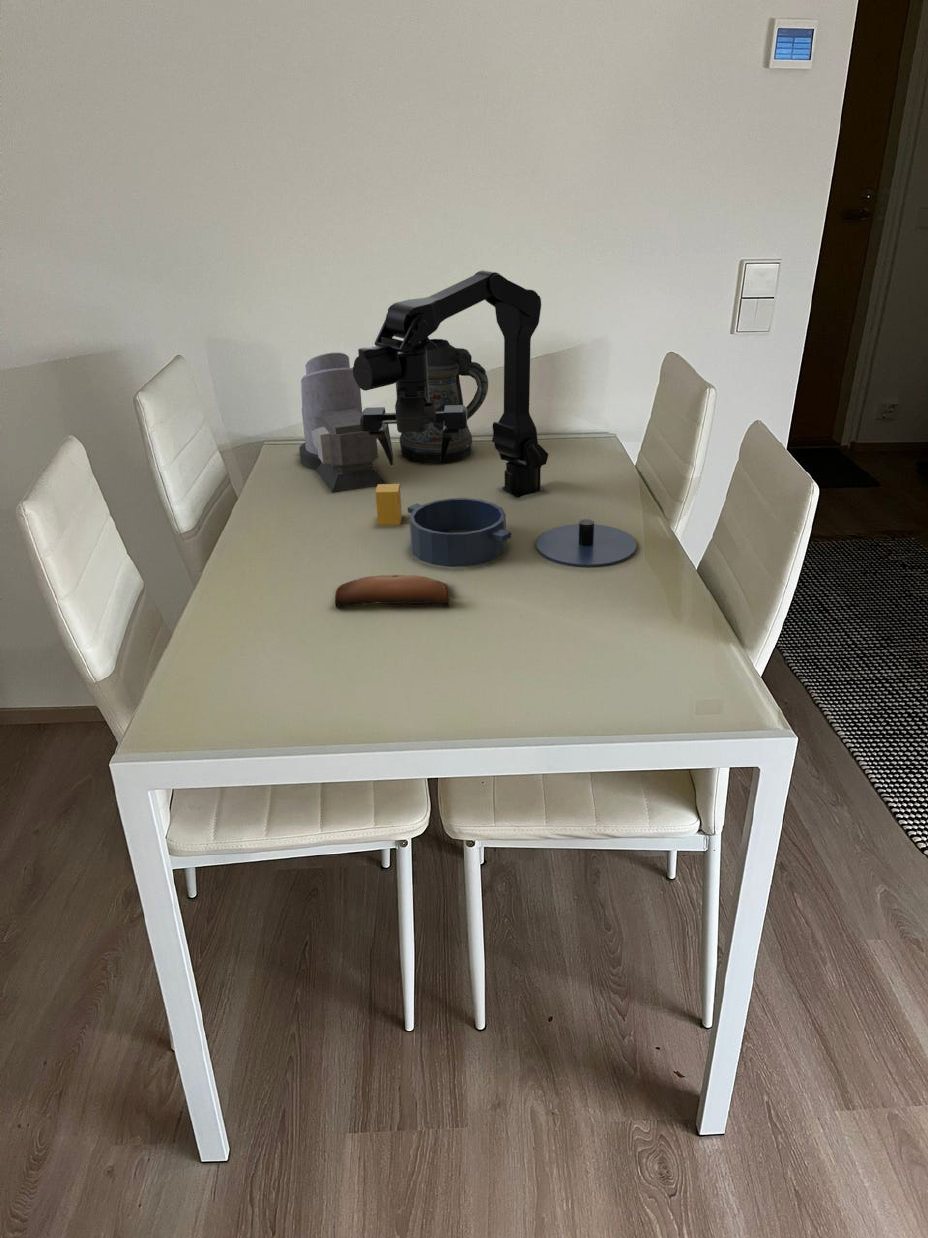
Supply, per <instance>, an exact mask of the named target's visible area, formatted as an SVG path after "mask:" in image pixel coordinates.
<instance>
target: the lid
mask: <svg viewBox="0 0 928 1238" xmlns="http://www.w3.org/2000/svg"><path fill="white" fill-rule="evenodd" d="M535 541H536V542H535V548H536V549H535V550H537V552H538V554H540V555H541V556H542V557H543V558H545V559H547V560H549V561H551V562H554V563H556V564H561V565H564V566H569V567H570V566H571V567H579V568H599V567H600V568H601V567H607V566H613V565H616V564H619V563H622V562H625V561H627V560H628V559H630V558H632V556H634V555H635V553H636V551H637V548H638V545H637V541H636V539H635V538H634V537H633V536H632V535H631V534H629V533H628V532H626V531H624V530H622V529H619V528H616V527H612V526H608V525H603V524H596V523H595V521H594V520H593V519H587V518H586V519H581V520H579V521H578V523H574V524H566V525H560V526H557V527H552V528H551V529H548V530H545V531H544V532H543V533H541V534H540V535H538V537H537V538H536V540H535Z"/></svg>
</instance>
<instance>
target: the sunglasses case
mask: <svg viewBox="0 0 928 1238" xmlns="http://www.w3.org/2000/svg"><path fill="white" fill-rule="evenodd" d="M448 585H449V584H448V583H445V582H443V581H440V580H438V579H434V578H431V577H427V576H422V575H417V574H400V575H399V574H387V575H386V574H385V575H370V576H365V577H359V578H356V579H353V580H350V581H347V582H345V583H342V584H341V585H339V586H338V587H337V588H336V590H335V594H334V595H335V596H334V605H335V608H337V607H346V606H347V607H348V606H361V605H370V604H371V605H372V604H401V603H409V604H419V603H420V604H421V603H441V604H442V603H443V604H444V603H445V604H447V605H450V602H451V601H450V598H449V588H448Z"/></svg>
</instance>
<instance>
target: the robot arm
mask: <svg viewBox="0 0 928 1238" xmlns="http://www.w3.org/2000/svg"><path fill="white" fill-rule="evenodd" d="M483 301H485V302H487V303H488V304H489V305H491V306H492V307H494V311H495V318H496V323H497V325H498V326H499V330H500V331H501V334H502V336H503V413H502V415H501V416H500V418H499V420H498V421H494V422H493V423H492V439H491V442H492V443H493V444H494V448H495V450H496V451H497V452H498V454H499V457H500V460H502V461H506V463H505V468H506V470H504V485H503V486H502V487H501V488H502V489H501V490H503V491H504V492H506V493H508V494H509V495H511V496H513V497H515V498H517V499H519V498H521V497H524V496H528V495H533V494H536V493H540V492H544V491H545V488H543V487H541V474H542V473H541V470H542V467H543V466H545V465H547V462H548V458H549V453H548V452H547V451H546V450H545V448H543V446H542V445H540V444H539V440H538V439H539V438H538V432H537V427H536V425H535V422H534V420H533V418H532V416H531V414H530V413H531V412H530V397H531V396H530V394H531V393H530V391H531V343H532V342H531V341H532V337H533V335H534V333H535V331H536V330H537V328H538V326H539V324H540V319H541V318H540V317H541V310H542V298H541V296H540V295H539V294H538V292H537V291H535V290H534V289H529V288H525V287H522V286H521V285H519V284H517V283H515V282H514V281H511V280H509V279H507V278H506V277H505V276H503V275H501V273H499V272H496V271H490V270H484V269H482V270H479V271H477V272H476V273H474V274H473V275H471V276H469V277H467V278H465V279H463V280H461V281H458V282H457V283H455V284H452V285H451V286H448V287H447V288H444V289H442V290H440V291H438V292H436V293H434V294H431V295H429V296H426V297H420V298H411V299H406V300H401V301H397V302H394V303H392V304H391V305H390V306H389V307H388V308H387V313H386V314H385V319H384V322H383V324H382V326H381V328H380V330H379V332H378V334H377V337H376V338H375V341H374V346H371V347H361V348H358V349H357V351H358V356H357V357H356V358H355V359H354V361H353V366H352V368H353V375H354V379H355V381H356V383H357V385H358V386H359V387H360V390H361V391H365V392H366V391H370V390H374V389H379V388H382V387H386V386H391V385H394V384H395V391H396V401H395V405H394V410H395V412H386V408H385V406H381V407H379V406H378V407H377V406H376V407H375V406H374V407H365V408H364V409H363V410H362V415H361V417H360V426H361V431H364V432H366V431H369V435H371V436H375V437H376V438H377V441H378V442H379V443H380V445H381V447H382V449H383V451H384V454H385V455H386V458H387V460H388V463H389V465H390V466H394V454H393V453H394V452H393V447H392V446H393V445H392V440H391V433H390V427H389V425H396V430H397V432H398V433H400V434H401V433H406V432H417V433H420V432H423V431H424V430H425V424H430V423H442V422H444V427H443V437H442V449H441V464H440V465H444V464H445V463H444V460H445V456H446V452H447V449H448V445H449V443H450V440H451V438H452V436H453V434H454V433H459V432H460V429H465V428H467V425H468V420H467V408H466V407H467V406H466V405H465V404H463V405H447V406H445V409H444V412H436V406H435V402H429V384H428V366H427V351H429V350H434V349H436V348H437V345H436V344H434V343H433V342H432V341H431V340H430V339H431V338H429V337H430V336H431V335H432V334H434V333H435V332H436V331H437V330H438V328H439V326H441V323H442V322H444V321H445V320H447V319H449V318H451V317H453V316H455V315H457V314H459V313H461V312H463V311H465V310H467V309H469V308H471V307H474V306H475V305H478V304H479V303H482V302H483ZM394 337H396V338H394ZM397 338H399V339H397ZM401 339H403V340H401Z"/></svg>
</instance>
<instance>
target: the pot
mask: <svg viewBox="0 0 928 1238" xmlns="http://www.w3.org/2000/svg"><path fill="white" fill-rule="evenodd" d="M407 513H408V514H409V517H408V518H409V534H410V535H409V536H410V548H411V552H412V555H413V556H414V557H416V558H417V559H419V561H422V562H424V563H427V564H430V565H434V566H440V567H441V566H442V567H448V568H453V567H454V568H457V567H458V568H459V567H471V566H477V565H483V564H485V563H488V562H490V561H493V560H496V559H497V558H498V557H500V556H501V555H503V554H504V552H505V550H506V548H507V540H509V539H511V538H512V532H511V531H509V530H507V514H506V511H505V510H504V508H502V506H500V505H498V504H496V503H495V502H491V501H487V500H483V499H478V498H469V497H460V498H459V497H456V498H453V497H452V498H445V499H438V500H434V501H430V502H428V503H427V502H426V503H424V504H420V503H414V504H412V505H410V506H407ZM451 531H466V532H451Z"/></svg>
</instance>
